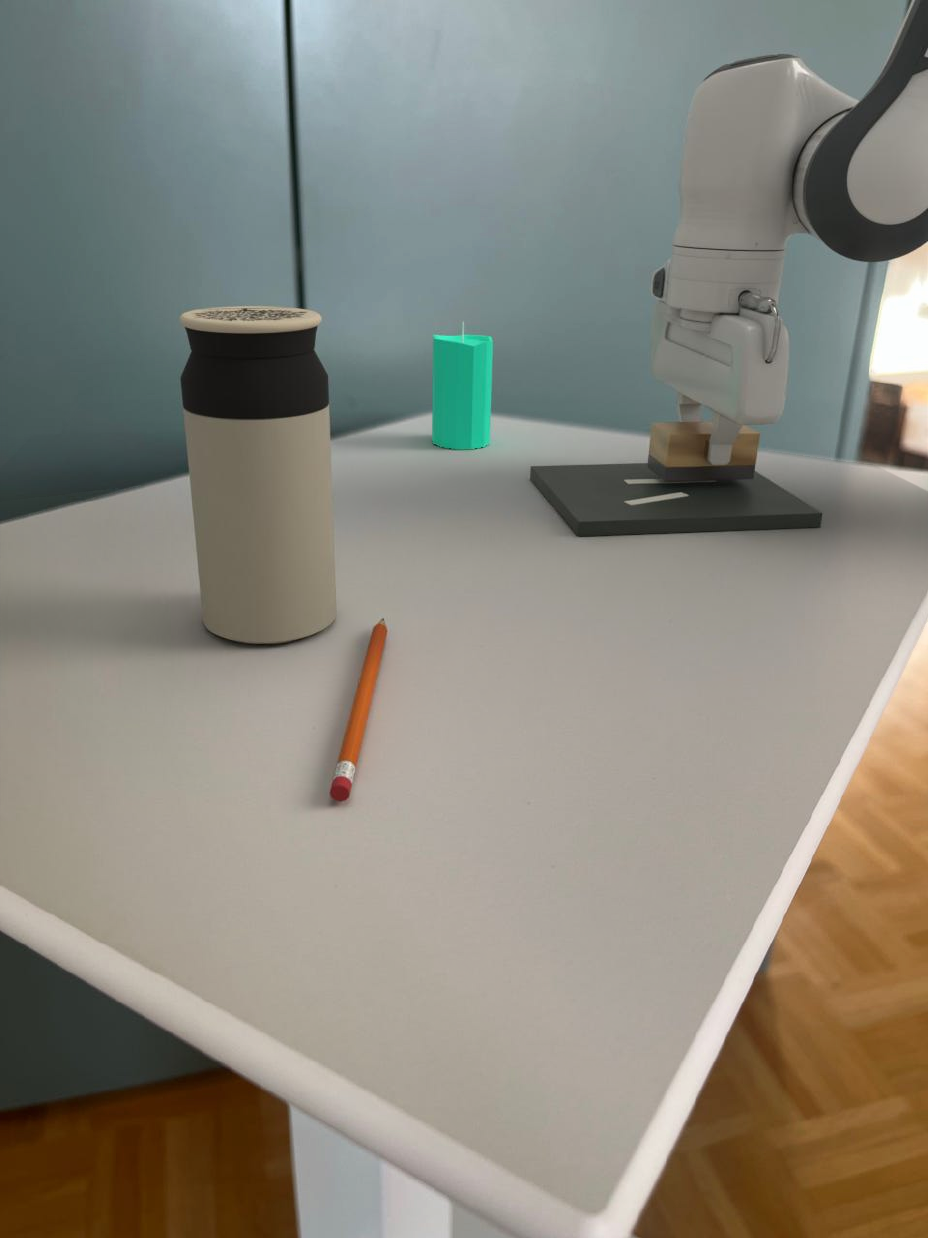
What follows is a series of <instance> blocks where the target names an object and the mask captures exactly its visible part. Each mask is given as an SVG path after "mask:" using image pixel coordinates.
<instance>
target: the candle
mask: <svg viewBox="0 0 928 1238" xmlns="http://www.w3.org/2000/svg"><path fill="white" fill-rule="evenodd" d="M461 326H462V329H461V330H462V331H461V333H462V334H459V335H442V334H441V335H439V334H432V411H431V412H432V413H431V414H432V417H431V419H432V421H431V422H432V423H431V425H432V426H431V427H432V428H431V429H432V430H431V433H432V434H431V439H432V440H431V441H432V445H434V444H436V445H438V446H437V447H439V446H440V447H439V448H442V447H444V448H443V449H449V448H451V449H450V450H476V449H475V448H477V449H482V448H481V447H483V448H486V447H487V446H489V445H490V444H491V420H492V419H491V418H492V416H491V415H492V391H493V390H492V388H493V387H492V386H493V384H492V383H493V353H494V340H493V337H492V336H490V335H481V334H479V335H478V334H465V321H462V325H461ZM489 443H490V444H489ZM488 444H489V445H488ZM436 445H435V446H436ZM486 445H487V446H486Z"/></svg>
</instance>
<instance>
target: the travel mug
mask: <svg viewBox="0 0 928 1238" xmlns="http://www.w3.org/2000/svg"><path fill="white" fill-rule="evenodd" d="M322 321H323V319H322V316H321V314H320V313H319V312H316V311H314V310H311V309H304V308H298V307H297V308H296V307H290V306H289V307H288V306H287V307H286V306H270V305H268V306H267V305H239V306H237V305H236V306H235V305H234V306H217V307H216V306H215V307H207V308H206V307H205V308H198V309H193V310H188V311H185V312H183V313H181V314H180V316H179V324H181V326H183V327H184V329H185V332H186V336H187V341H188V343H189V348H190V353H189V356H188V359H187V361H186V363H185V366H184V368H183V370H182V372H181V375H180V388H181V389H180V391H181V401H182V410H183V412H182V413H183V421H184V432H185V433H184V434H185V441H186V452H187V453H186V454H187V461H188V462H187V464H188V465H187V466H188V474H189V486H190V495H191V506H192V516H193V528H194V538H195V539H194V540H195V548H196V550H195V551H196V560H197V569H198V580H199V590H200V591H199V592H200V601H201V613H202V622H203V624H204V626H205V628H206V629H207V630H208V631H209V632H211V633H213V634H214V635H216V636H219V637H221V638H225V639H227V640H230V641H233V642H236V643H244V644H250V645H278V644H286V643H290V642H294V641H297V640H301V639H305V638H309V637H311V636H312V635H314V634H316V633H318V632H320V631H323V630H324V629H326V628H327V627H328V626H330V625H331V624H332V623H333V622H335V620H336V618H337V587H336V560H335V533H334V504H333V502H334V501H333V475H332V472H333V471H332V449H331V445H332V443H331V419H330V392H329V388H330V387H329V374H328V372H327V371H326V368H325V366H324V365H323V363H322V362H321V360H320V357H319V355H318V354H317V352H316V350H315V348H316V337H317V331H318V327H319V325H320V324H321V323H322Z"/></svg>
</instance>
